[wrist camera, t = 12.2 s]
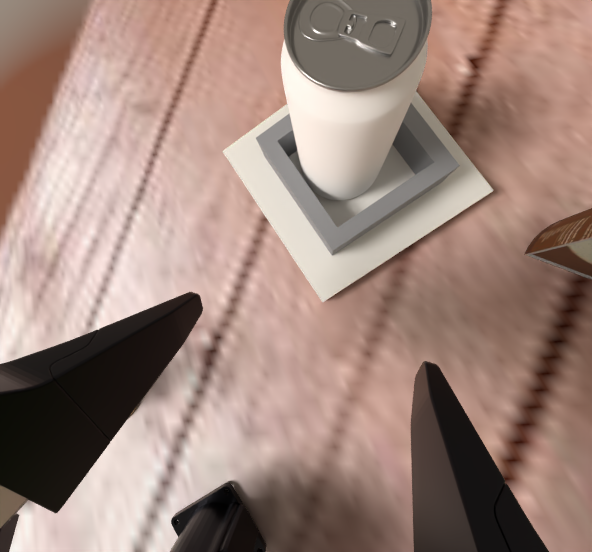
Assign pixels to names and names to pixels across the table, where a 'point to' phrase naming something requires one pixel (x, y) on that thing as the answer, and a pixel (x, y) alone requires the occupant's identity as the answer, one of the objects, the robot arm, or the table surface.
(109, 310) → the table surface
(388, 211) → the socket board
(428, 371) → the robot arm
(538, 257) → the food container
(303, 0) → the can
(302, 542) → the table surface
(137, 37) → the table surface
